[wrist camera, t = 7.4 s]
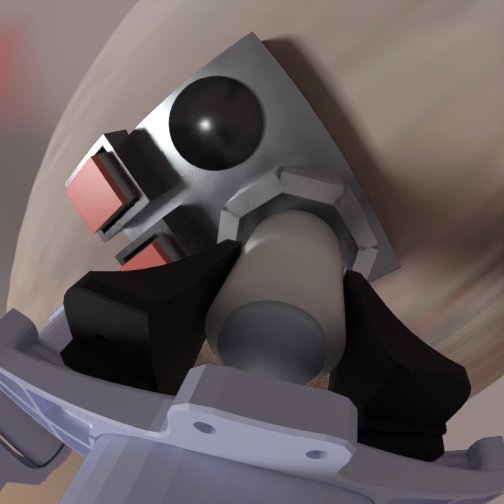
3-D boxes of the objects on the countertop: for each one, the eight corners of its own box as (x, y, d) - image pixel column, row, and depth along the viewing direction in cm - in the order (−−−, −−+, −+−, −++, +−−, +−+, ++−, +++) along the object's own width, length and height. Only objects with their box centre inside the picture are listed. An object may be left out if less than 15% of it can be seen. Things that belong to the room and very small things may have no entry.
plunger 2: (172, 287, 18) (153, 311, 16) (141, 249, 17) (119, 269, 15) (206, 267, 17) (189, 292, 14) (174, 225, 16) (151, 244, 14)
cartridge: (324, 302, 15) (317, 409, 9) (242, 280, 15) (195, 377, 10) (352, 224, 13) (371, 317, 7) (256, 199, 13) (203, 274, 7)
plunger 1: (118, 217, 16) (93, 234, 14) (92, 179, 16) (64, 191, 14) (148, 189, 15) (122, 204, 13) (119, 147, 14) (90, 156, 12)
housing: (225, 327, 22) (208, 365, 18) (104, 168, 18) (64, 184, 15) (394, 250, 16) (409, 287, 13) (256, 35, 13) (235, 14, 9)
